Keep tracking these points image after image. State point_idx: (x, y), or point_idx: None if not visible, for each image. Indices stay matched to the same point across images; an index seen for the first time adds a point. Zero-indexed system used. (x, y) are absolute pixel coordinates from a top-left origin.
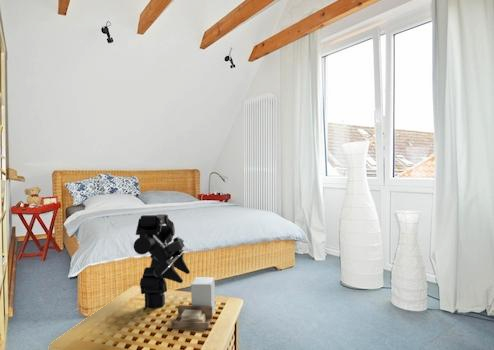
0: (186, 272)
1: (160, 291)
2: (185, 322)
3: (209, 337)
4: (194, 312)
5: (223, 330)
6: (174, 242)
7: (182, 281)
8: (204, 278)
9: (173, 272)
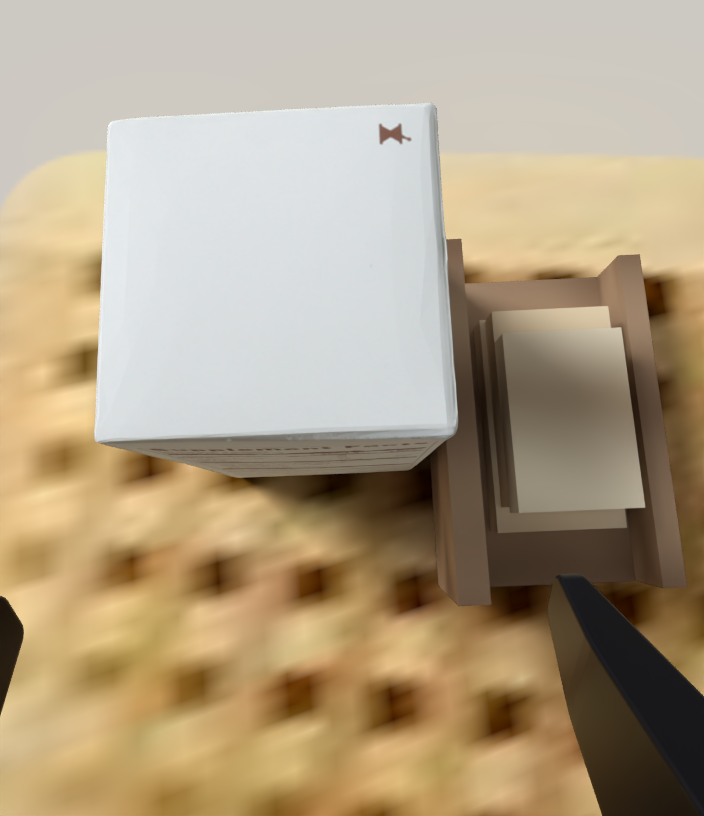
0: (1, 671)
1: None
2: (666, 452)
3: (673, 258)
4: (567, 388)
5: (558, 183)
6: None
7: (580, 581)
8: (182, 260)
9: None
